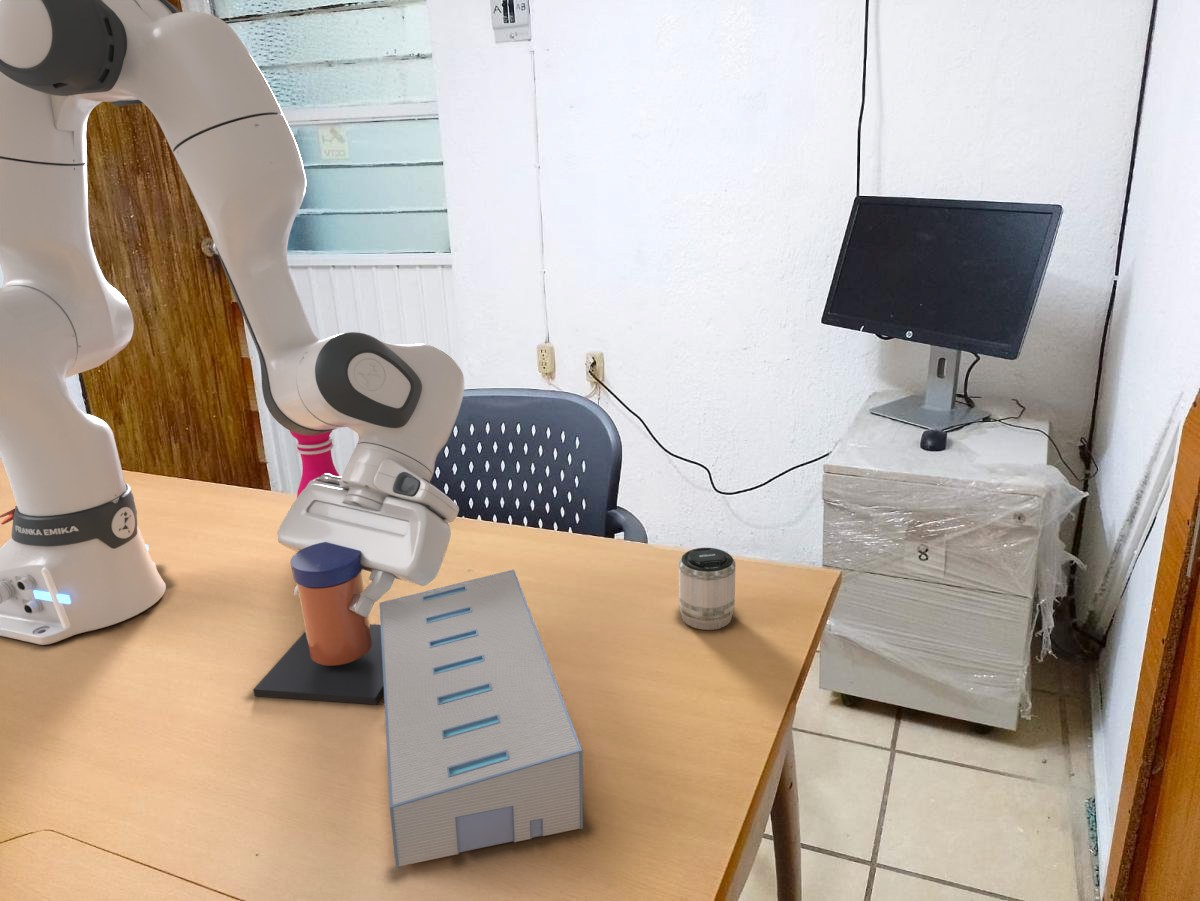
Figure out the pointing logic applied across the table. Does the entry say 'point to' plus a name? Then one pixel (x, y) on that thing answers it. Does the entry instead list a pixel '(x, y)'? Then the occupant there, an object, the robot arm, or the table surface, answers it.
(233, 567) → the table surface
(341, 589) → the jam jar
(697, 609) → the camera lens
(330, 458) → the pepper mill
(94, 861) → the table surface
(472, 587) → the warehouse
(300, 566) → the jam lid
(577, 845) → the table surface
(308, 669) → the mat
